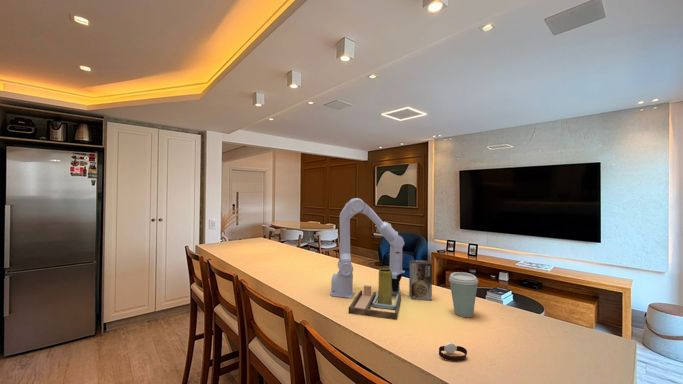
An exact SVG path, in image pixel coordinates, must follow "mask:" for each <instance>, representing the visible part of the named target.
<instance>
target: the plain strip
mask: <svg viewBox="0 0 683 384" xmlns="http://www.w3.org/2000/svg"><path fill="white" fill-rule="evenodd" d="M372 295H373V294H372V285H367V284H364V286H363V293H362V296H361V297H360V299H359V300H358V302H357V304H356V305H355V307H356V308H363V309H365V308H366V306H367V304H368V303H369V301H370V299H371V297H372Z"/></svg>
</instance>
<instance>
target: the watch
mask: <svg viewBox="0 0 683 384" xmlns="http://www.w3.org/2000/svg"><path fill="white" fill-rule="evenodd" d="M443 352H445V353H447V354H445V353H443ZM455 352H460V353H463V354H464V355H449V354H453V353H455ZM467 353H468V350H467V349H466V348H465V347H463V346H461V345H456V344H455V343H453V342H448V343H446V344H445V345H442V346H439V348H438V355H439V357H440V358H441V359H442V360H445V359H446V360H445V361H449V360H450V362H461V361H465V360H466V359H467V356H468V355H467Z"/></svg>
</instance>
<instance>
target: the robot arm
mask: <svg viewBox="0 0 683 384" xmlns="http://www.w3.org/2000/svg"><path fill="white" fill-rule="evenodd" d="M359 213H361V214H364V215H365V216H366V217H368V219H370V220H371V221H372V222H373V224H375V225H376V226H377V231H378V233H379V234H381V236H383V238H384V239H386V241H387V242H388V244H389V245H390V247H389V270H392V290H393V291H394V292H397V291H398V287H399V282H401V279H402V278H403V274H406V273H405V272H406V271H405V270H403V247H404V246H405V241H404V238H403V236H401V235H399V232H398V231H397V230H395V229H394V228H393V227H392V224H391V223H389V222H387V221H383V220H382V219H381V218H380V216H379V215H377V213H376V212H375V211H374V209H372V208H371V207H370V206H369V205H368V204H367V203H366V202H365V201H364V200H362V199H361V198H360V197H359V198H358V197H355V198H351V199H350V200H349V201H347V202H346V203H345V205H344V207H343V208H342V210H341V211H340V213H339V260H338V262H337V268H338V271H337V273H333V274H332V277H331V285H330V296H332V297H338V298H346V299H351V298H353V296H354V295H355V293H356V292H355V291H354V290H353V287H354V286H353V283H354V277H353V276H354V273H353V271H354V266H353V264H352V257H351V221H350V220H351V219H352V218H353V217H354V216H355V215H357V214H359Z"/></svg>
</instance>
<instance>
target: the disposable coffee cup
mask: <svg viewBox="0 0 683 384" xmlns="http://www.w3.org/2000/svg"><path fill="white" fill-rule="evenodd" d="M448 281H449V284H450V285H449V287H450V290H451V292H450V293H451V298H452V304H453V309H454V312H455V313H454V314H455V315H457V316H459V317H463V318H471V317H473V315H474V311H475V305H476V304H475V303H476V298H477V297H476V296H477V291H478V284H479V279H478V278H477V276H475V275H474V274H472V273H468V272H463V271H460V272H459V271H457V272H456V271H455V272H451V273H450V275H449V277H448Z"/></svg>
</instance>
